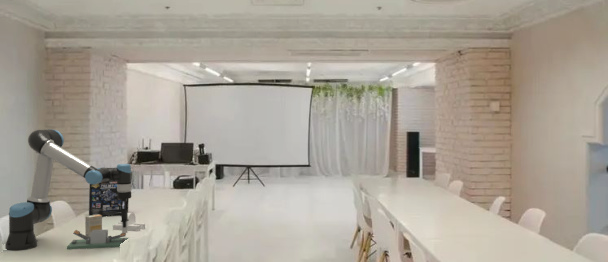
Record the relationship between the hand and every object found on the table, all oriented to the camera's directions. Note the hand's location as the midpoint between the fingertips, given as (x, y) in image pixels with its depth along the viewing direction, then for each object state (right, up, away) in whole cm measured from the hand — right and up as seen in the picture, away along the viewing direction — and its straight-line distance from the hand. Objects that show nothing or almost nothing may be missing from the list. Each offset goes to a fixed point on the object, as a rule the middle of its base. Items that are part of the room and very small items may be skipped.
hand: (124, 232), depth 281 cm
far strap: (-4, -3, -1) cm, 5 cm away
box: (-41, -5, +82) cm, 92 cm away
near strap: (-22, -2, -5) cm, 23 cm away
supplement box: (-24, -6, +14) cm, 28 cm away
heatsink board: (-13, -6, -3) cm, 15 cm away
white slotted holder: (-11, -6, +38) cm, 40 cm away
